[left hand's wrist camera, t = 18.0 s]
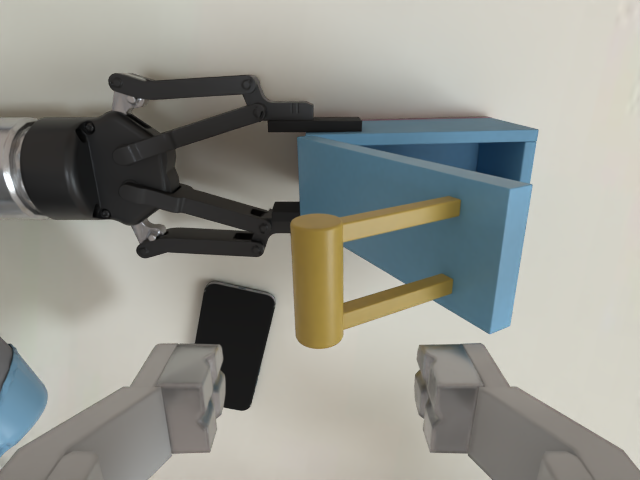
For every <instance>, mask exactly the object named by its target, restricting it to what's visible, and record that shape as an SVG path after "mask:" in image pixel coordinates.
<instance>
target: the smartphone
mask: <svg viewBox="0 0 640 480" xmlns="http://www.w3.org/2000/svg"><path fill="white" fill-rule="evenodd" d="M275 304H276V301H275V298H274V297H273V296H272V295H271V294H270V293H267V292H262V291H257V290H253V289H248V288H244V287H239V286H235V285H230V284H225V283H221V282H211V283H209V284H208V285H207V286H206V288H205V290H204V295H203V301H202V306H201V312H200V318H199V324H198V329H197V335H196V341H195V344H220V346H221V347H222V353H223V362H222V365H221V368H220V370H221V371H222V372H223V373H224V374H225V400H224V406H223V407H224V408H229V409H235V410H240V411H243V410H247V409H248V408H249V407H250V406H251V403H252V399H253V395H254V392H255V386H256V384H257V380H258V379H257V378H258V375H259V372H260V366H261V362H262V358H263V354H264V350H265V345H266V341H267V337H268V333H269V329H270V325H271V321H272V317H273V313H274V309H275Z"/></svg>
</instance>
